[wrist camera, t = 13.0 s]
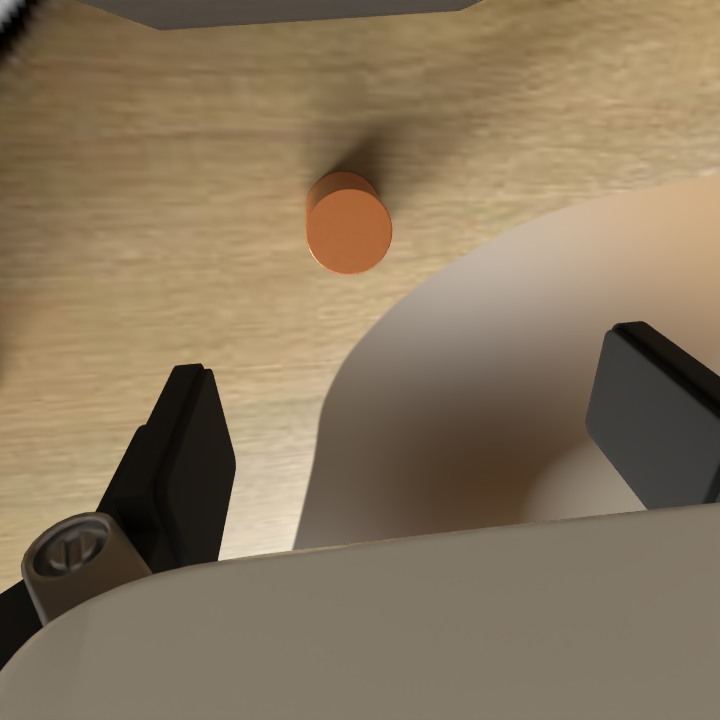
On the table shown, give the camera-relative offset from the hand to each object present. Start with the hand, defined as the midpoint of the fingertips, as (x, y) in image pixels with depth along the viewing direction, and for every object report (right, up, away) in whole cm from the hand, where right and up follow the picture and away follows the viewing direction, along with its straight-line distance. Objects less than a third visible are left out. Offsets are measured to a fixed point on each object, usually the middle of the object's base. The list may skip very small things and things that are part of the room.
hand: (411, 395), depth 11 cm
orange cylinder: (-2, +10, +17) cm, 20 cm away
